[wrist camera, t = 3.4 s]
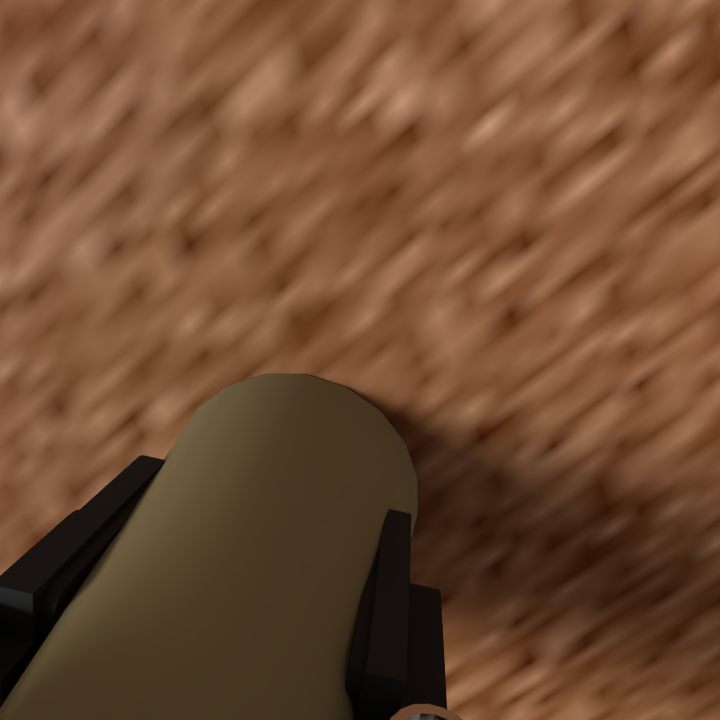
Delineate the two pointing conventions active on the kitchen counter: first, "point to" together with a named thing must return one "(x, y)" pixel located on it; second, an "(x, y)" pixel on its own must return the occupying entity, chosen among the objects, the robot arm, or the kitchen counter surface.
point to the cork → (233, 567)
